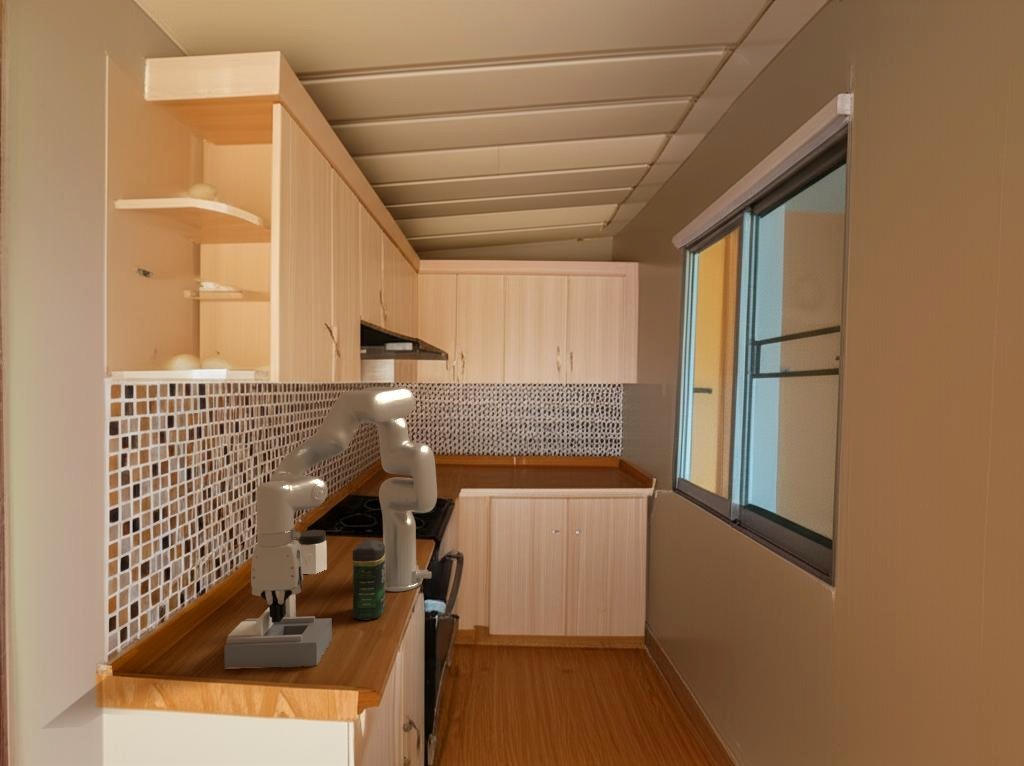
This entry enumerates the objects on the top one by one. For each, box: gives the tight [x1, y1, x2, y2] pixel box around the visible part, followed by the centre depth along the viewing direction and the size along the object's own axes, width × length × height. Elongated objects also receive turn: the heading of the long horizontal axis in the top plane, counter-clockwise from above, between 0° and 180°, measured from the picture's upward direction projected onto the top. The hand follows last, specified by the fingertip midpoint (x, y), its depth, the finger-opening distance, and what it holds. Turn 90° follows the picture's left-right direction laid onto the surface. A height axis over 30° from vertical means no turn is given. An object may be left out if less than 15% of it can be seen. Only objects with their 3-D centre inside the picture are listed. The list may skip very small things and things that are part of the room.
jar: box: [298, 529, 328, 575], centre depth 176 cm, size 9×8×12 cm
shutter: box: [227, 607, 274, 638], centre depth 122 cm, size 7×7×4 cm
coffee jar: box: [352, 539, 386, 621], centre depth 143 cm, size 10×8×19 cm
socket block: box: [223, 615, 333, 669], centre depth 122 cm, size 19×12×6 cm, turn 93°
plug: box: [276, 591, 297, 617], centre depth 134 cm, size 4×4×14 cm
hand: (277, 619), depth 122 cm, fingers closed
